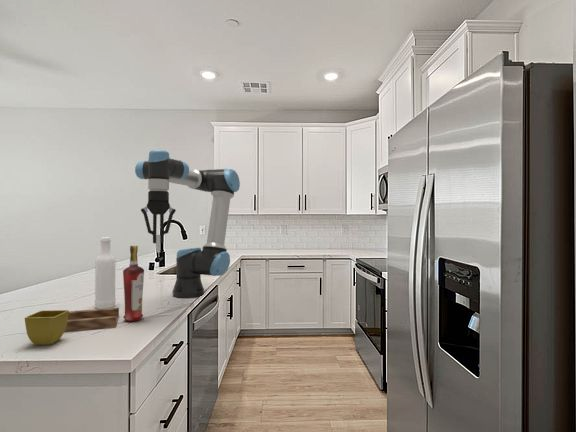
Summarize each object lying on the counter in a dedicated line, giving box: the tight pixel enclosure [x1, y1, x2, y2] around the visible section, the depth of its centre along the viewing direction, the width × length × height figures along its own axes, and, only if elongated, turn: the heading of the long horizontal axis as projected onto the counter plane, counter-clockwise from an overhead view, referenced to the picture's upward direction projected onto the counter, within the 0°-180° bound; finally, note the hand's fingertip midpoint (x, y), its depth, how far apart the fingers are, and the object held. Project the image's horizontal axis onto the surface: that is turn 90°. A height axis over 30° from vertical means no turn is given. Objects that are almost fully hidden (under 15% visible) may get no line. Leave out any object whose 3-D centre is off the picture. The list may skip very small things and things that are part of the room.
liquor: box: [122, 245, 145, 323], centre depth 137 cm, size 7×7×28 cm
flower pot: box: [24, 309, 70, 346], centre depth 113 cm, size 9×9×9 cm
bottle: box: [94, 236, 116, 309], centre depth 156 cm, size 8×8×30 cm
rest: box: [64, 307, 120, 333], centre depth 131 cm, size 25×15×3 cm, turn 111°
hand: (158, 251), depth 140 cm, fingers closed
